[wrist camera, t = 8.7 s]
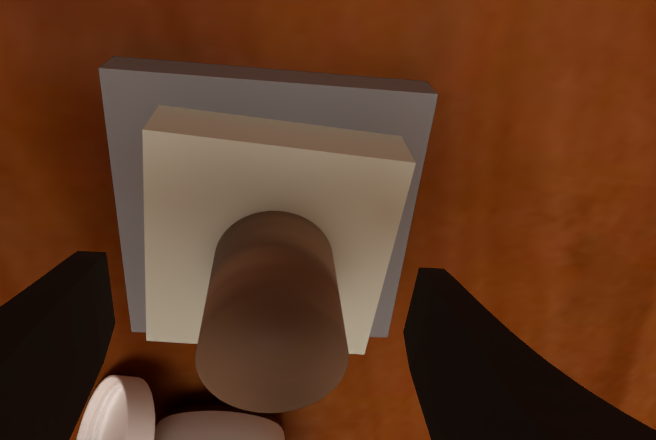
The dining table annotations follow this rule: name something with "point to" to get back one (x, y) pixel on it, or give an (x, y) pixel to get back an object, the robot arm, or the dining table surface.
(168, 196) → the tower top
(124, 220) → the tower base
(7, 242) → the dining table surface
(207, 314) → the walnut cylinder
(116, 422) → the spread jar
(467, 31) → the dining table surface
